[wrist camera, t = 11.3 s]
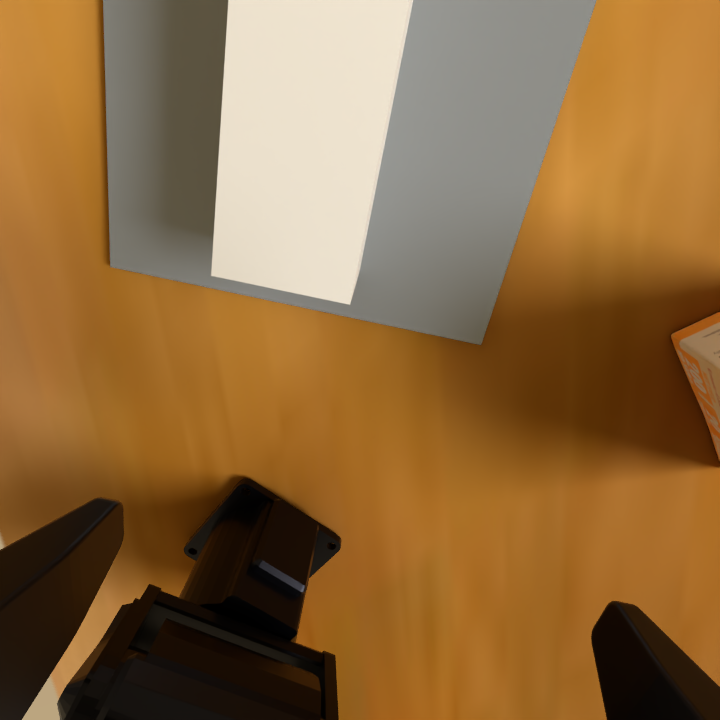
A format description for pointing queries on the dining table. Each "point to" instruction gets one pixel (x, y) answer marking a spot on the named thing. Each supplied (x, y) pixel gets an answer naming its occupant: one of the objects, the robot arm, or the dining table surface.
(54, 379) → the dining table surface
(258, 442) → the dining table surface
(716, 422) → the supplement box
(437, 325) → the mat
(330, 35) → the block
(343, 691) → the dining table surface
